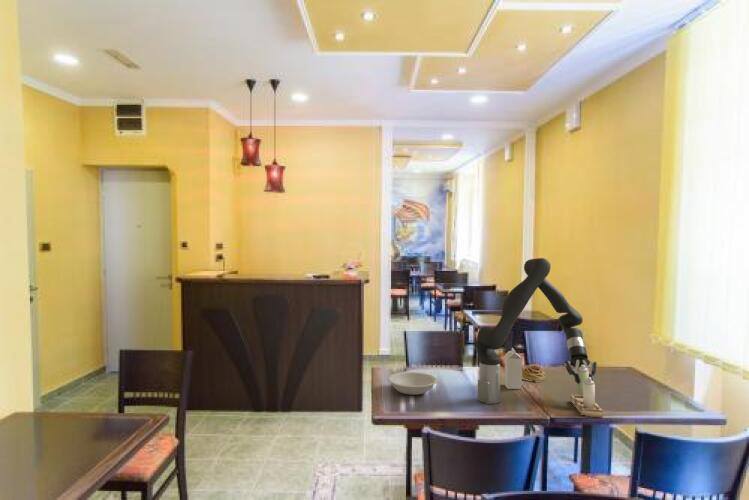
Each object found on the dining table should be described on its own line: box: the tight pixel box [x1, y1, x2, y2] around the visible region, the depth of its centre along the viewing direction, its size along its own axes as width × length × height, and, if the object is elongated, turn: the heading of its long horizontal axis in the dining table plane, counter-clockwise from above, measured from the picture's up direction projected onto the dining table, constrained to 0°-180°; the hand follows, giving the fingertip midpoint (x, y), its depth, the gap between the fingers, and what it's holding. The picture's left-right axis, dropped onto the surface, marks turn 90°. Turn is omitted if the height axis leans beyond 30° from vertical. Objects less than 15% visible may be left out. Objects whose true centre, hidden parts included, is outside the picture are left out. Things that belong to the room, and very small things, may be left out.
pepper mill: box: [577, 365, 589, 395], centre depth 199 cm, size 4×4×13 cm
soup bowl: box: [387, 371, 439, 396], centre depth 215 cm, size 24×24×7 cm
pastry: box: [522, 364, 546, 382], centre depth 240 cm, size 13×15×8 cm
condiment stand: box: [569, 394, 604, 418], centre depth 194 cm, size 18×8×3 cm, turn 171°
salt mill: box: [583, 377, 596, 409], centre depth 190 cm, size 4×4×13 cm
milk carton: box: [504, 347, 523, 390], centre depth 224 cm, size 7×7×19 cm
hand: (584, 383), depth 197 cm, fingers closed on pepper mill, 4 cm apart
